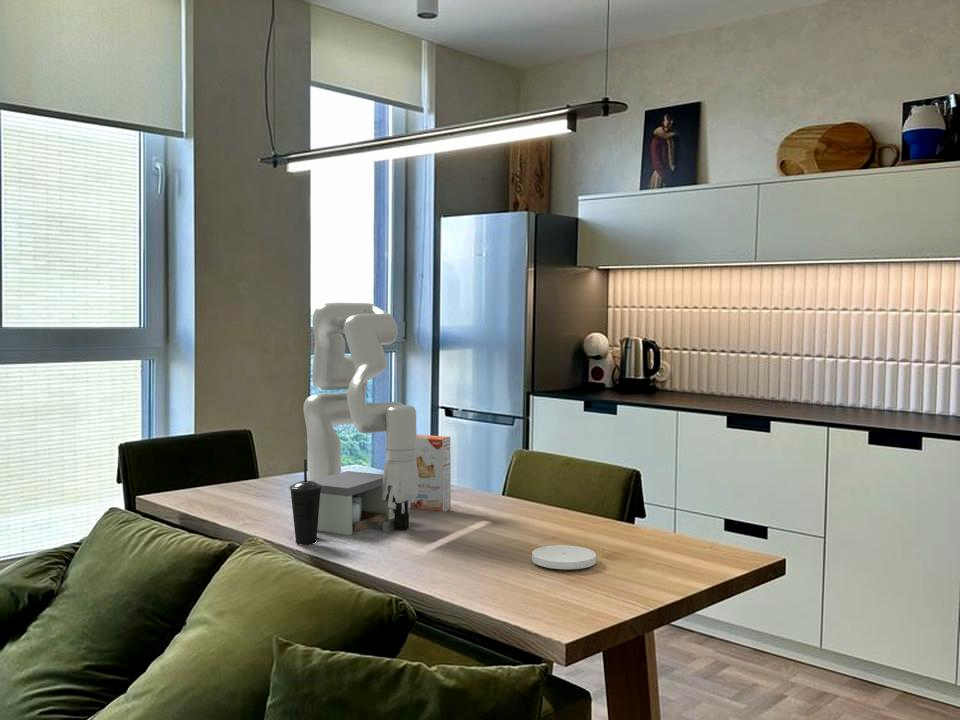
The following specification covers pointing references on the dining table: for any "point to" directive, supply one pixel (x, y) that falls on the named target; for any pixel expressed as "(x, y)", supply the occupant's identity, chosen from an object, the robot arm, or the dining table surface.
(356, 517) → the pale blue cylinder
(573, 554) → the plastic lid
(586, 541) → the dining table surface
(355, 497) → the pale tall cylinder
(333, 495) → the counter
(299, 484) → the drinking cup
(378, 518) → the tray
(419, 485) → the cracker box
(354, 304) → the robot arm
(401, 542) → the dining table surface
